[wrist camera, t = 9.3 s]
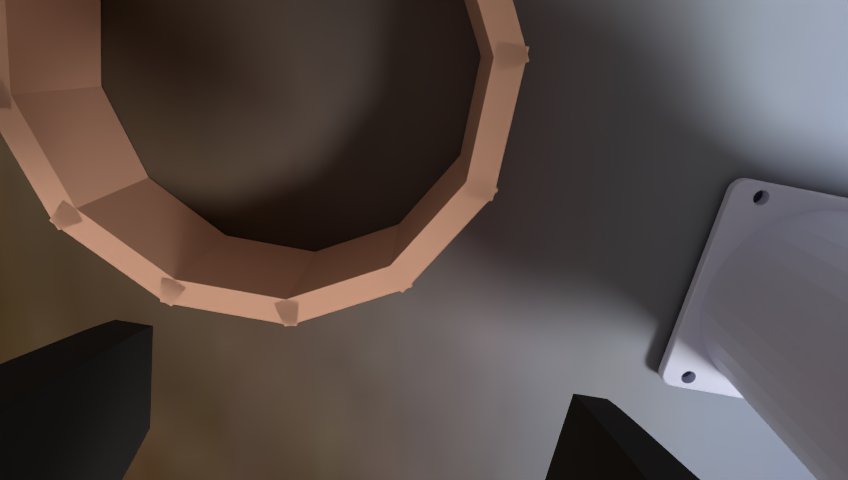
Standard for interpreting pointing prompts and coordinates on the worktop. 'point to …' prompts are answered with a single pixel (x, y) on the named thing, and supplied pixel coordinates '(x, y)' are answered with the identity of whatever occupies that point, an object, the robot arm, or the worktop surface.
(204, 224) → the tan faceted hollow ring
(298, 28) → the worktop surface
